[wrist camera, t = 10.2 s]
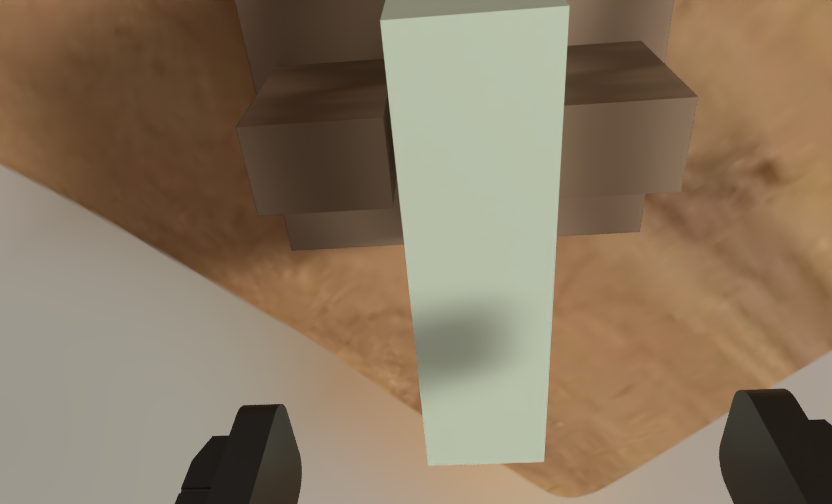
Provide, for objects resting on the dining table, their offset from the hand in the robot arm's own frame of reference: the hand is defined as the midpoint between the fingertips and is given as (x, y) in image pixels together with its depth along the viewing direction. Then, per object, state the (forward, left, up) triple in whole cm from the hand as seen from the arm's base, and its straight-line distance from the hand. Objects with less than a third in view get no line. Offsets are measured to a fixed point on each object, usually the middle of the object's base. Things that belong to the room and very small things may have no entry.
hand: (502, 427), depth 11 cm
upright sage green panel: (0, 0, -16) cm, 16 cm away
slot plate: (0, 0, -17) cm, 17 cm away
